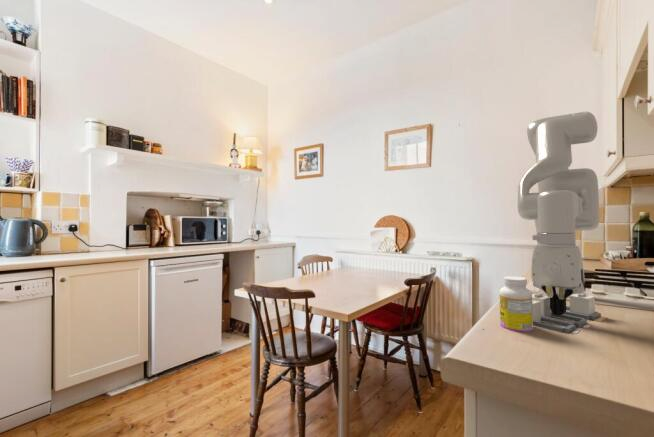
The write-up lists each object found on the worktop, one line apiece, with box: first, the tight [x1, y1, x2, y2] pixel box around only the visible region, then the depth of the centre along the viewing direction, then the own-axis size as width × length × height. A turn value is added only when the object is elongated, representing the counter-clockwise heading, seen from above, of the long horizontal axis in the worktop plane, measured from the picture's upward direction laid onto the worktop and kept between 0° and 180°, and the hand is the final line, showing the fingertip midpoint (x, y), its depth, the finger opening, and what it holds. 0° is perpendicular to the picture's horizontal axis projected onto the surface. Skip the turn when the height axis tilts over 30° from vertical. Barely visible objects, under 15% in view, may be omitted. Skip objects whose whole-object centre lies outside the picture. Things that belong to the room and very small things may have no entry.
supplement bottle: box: [499, 275, 534, 333], centre depth 74 cm, size 7×7×13 cm
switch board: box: [532, 300, 608, 335], centre depth 80 cm, size 22×15×7 cm
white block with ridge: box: [532, 292, 552, 318], centre depth 82 cm, size 4×4×6 cm
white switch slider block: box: [569, 292, 596, 316], centre depth 81 cm, size 4×4×6 cm
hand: (558, 313), depth 78 cm, fingers closed
